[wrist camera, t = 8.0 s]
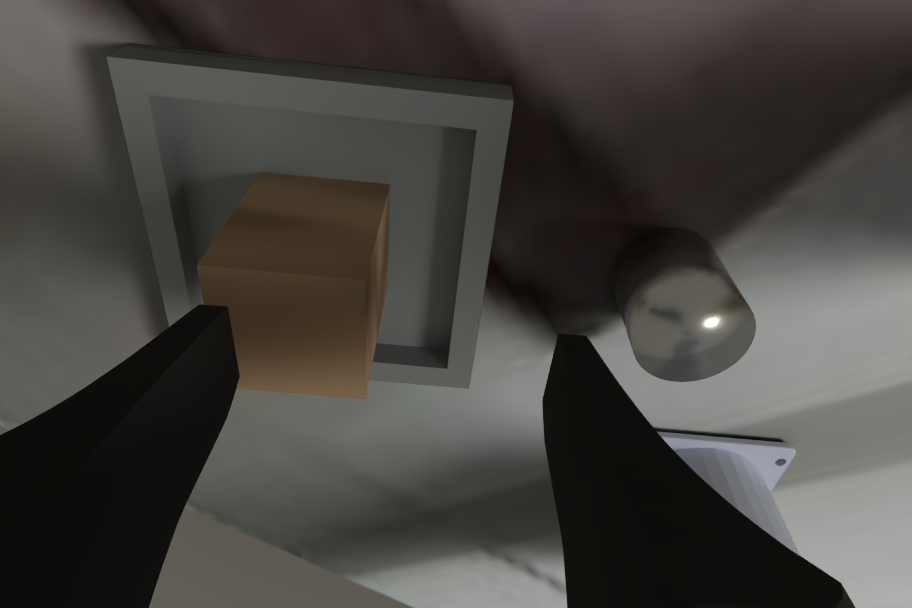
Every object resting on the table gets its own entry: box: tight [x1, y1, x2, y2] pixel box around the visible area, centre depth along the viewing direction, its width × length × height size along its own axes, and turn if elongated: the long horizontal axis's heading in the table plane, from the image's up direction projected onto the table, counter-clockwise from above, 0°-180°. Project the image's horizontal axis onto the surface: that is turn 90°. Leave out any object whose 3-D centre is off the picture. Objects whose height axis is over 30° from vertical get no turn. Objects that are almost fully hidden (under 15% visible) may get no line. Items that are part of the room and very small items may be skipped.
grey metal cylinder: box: [611, 228, 756, 382], centre depth 22 cm, size 4×4×4 cm
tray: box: [106, 43, 514, 389], centre depth 22 cm, size 12×12×2 cm
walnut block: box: [197, 172, 390, 399], centre depth 20 cm, size 4×4×6 cm
